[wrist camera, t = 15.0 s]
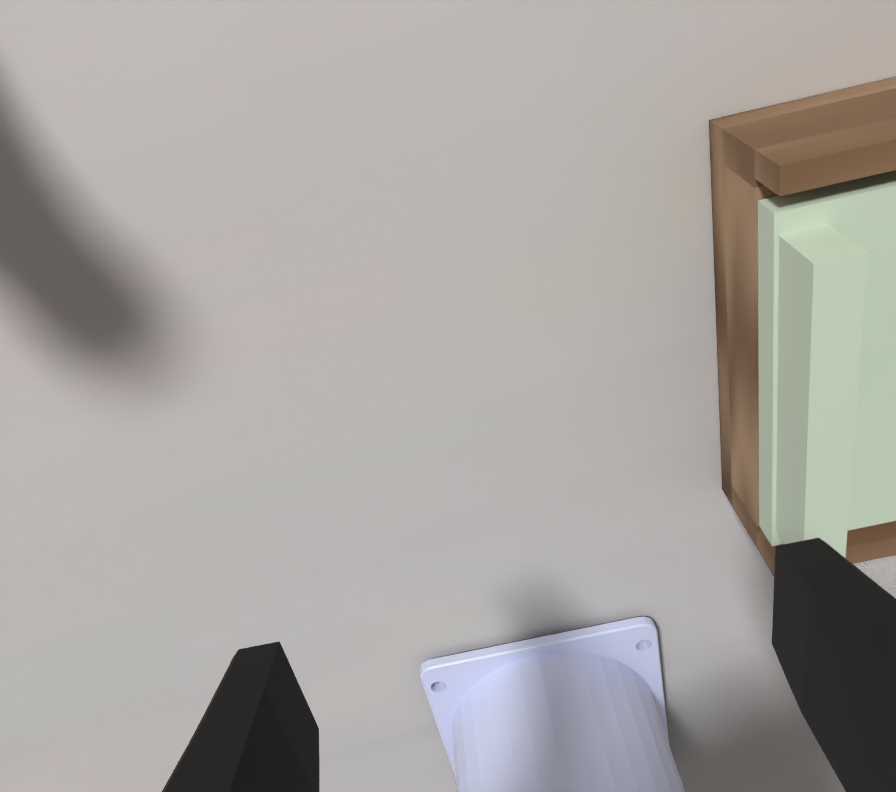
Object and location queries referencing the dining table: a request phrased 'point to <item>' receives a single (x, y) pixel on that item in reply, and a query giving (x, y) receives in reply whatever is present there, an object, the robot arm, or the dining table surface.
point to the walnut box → (736, 255)
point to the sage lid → (827, 360)
